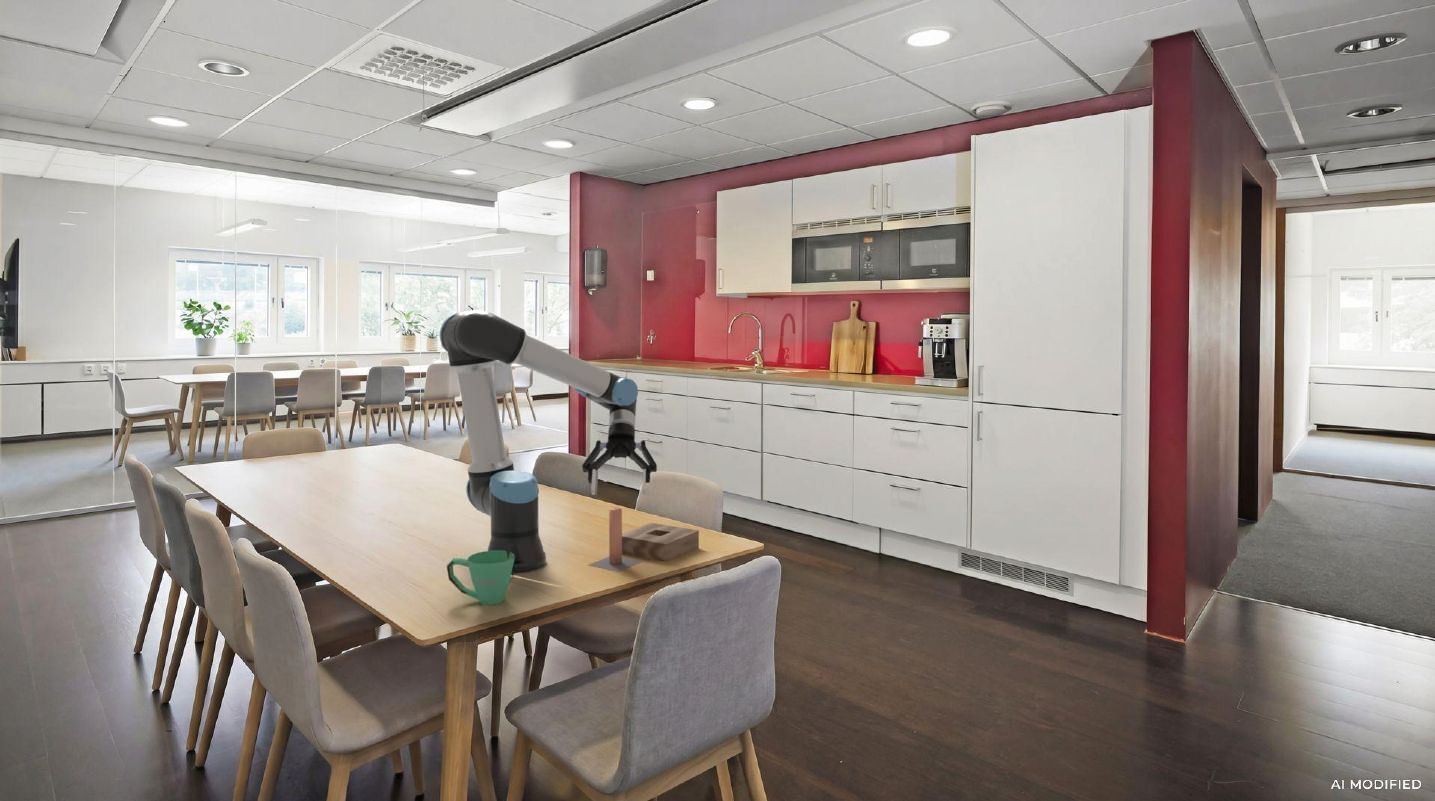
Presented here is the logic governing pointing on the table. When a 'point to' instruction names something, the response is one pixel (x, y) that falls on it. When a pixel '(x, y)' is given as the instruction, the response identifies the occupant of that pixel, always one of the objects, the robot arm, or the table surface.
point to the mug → (485, 575)
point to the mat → (605, 565)
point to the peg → (615, 536)
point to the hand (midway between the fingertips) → (618, 492)
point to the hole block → (659, 541)
